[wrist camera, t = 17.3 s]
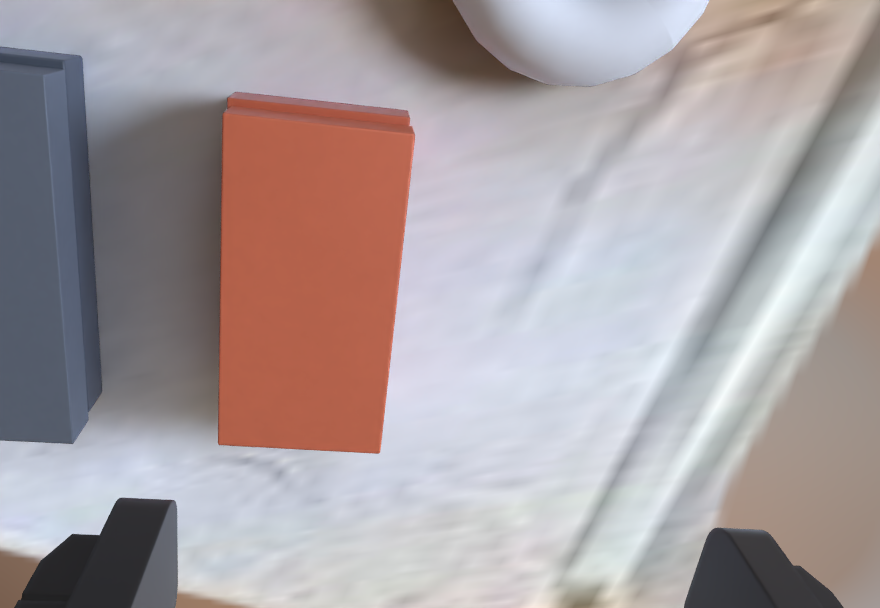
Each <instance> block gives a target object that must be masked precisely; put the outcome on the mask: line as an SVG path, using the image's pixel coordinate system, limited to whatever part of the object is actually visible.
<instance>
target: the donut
mask: <svg viewBox="0 0 880 608" xmlns="http://www.w3.org/2000/svg"><path fill="white" fill-rule="evenodd" d="M453 2H454V4H455V5H456V7H457V9H458V10H459V12H460V14H461V15H462V17H463V19H464V21H465V22H466V24H467V26H468V27H469V29H470V31H471V32H472V34H473V36H474V37H475V39H476V41H477V42H479V43H480V44H481V45H482V46H483V47H484V48H485V49H487V50H488V51H489V52H490V53H491V54H492V55H493V56H495V57H496V58H497V59H498V60H499V61H500V62H501V63H503V64H504V65H505V66H506V67H507V68H508V69H510V70H512V71H515V72H517V73H520V74H522V75H525V76H527V77H530V78H532V79H535V80H537V81H540V82H542V83H545V84H547V85H562V86H584V87H591V86H596V85H599V84H603V83H606V82H609V81H613V80H616V79H620V78H623V77H627V76H630V75H634V74H636V73H637V72H639V71H640V70H642V69H643V68H645V67H646V66H648V65H649V64H651V63H652V62H654V61H656V60H657V59H659V58H660V57H662V56H663V55H665V54H666V53H668V52H669V51H671V50H672V49H673V48H674V47H675V46H676V44H677V43H678V42H679V41H680V40H681V39H682V37H683V36H684V35H685V34H686V33H687V32H688V30H689V29H690V28H691V27H692V26H693V25H694V23H695V22H696V21H697V20H698V19H699V18H700V16H701V15H702V14H703V12H704V10H705V8H706V6H707V4H708V2H709V0H453Z"/></svg>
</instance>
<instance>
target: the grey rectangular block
mask: <svg viewBox="0 0 880 608" xmlns="http://www.w3.org/2000/svg"><path fill="white" fill-rule="evenodd" d="M101 393H102V381H101V365H100V348H99V331H98V314H97V298H96V281H95V264H94V247H93V231H92V214H91V197H90V180H89V163H88V147H87V130H86V113H85V96H84V80H83V63H82V57H81V56H78V55H69V54H60V53H52V52H43V51H34V50H25V49H16V48H7V47H0V440H5V441H25V442H45V443H66V444H73V443H74V442H75V440H76V438H77V437H78V435H79V434H80V432H81V431H82V429H83V428H84V426H85V425H86V423H87V421H88V420H89V419H88V412H89V411H90V409H91V408H92V406H93V405H94V403H95V402H96V400H97V399H98V397H99V396H100V394H101Z"/></svg>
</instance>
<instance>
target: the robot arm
mask: <svg viewBox="0 0 880 608" xmlns="http://www.w3.org/2000/svg"><path fill="white" fill-rule="evenodd" d="M177 587H178V560H177V506H176V502H175V501H174V500H159V499H138V498H119V499H118V500H117V501H116V503H115V505H114V507H113V509H112V511H111V513H110V515H109V517H108V519H107V521H106V523H105V525H104V527H103V529H102V532H101V534H100V535H80V534H72V535H71V536H70V537H68V538H67V539H66V540H65V541H64V542H62V543H61V544H60V545H59V546H58V547H57V548H55V549H54V550H53V551H52V552H51V553H49V554H48V555H47V556H46V557H45V558H44V559H42V560H41V561H40V563H39V565H38V567H37V568H36V570H35V572H34V574H33V575H32V577H31V579H30V581H29V582H28V584H27V586H26V588H25V590H24V591H23V593H22V599H21V600H18V602H17V604H16V606H15V607H14V608H175V606H176V599H177ZM684 608H843V606H842V605H841V604H840V602H839V601H838V600H837V598H836V597H835V596H834V594H833V593H832V592H831V591H830V590H829V589H828V588H826V587H825V586H824V585H822V584H821V583H820V582H819V581H818V580H816V579H815V578H814V577H813V576H812V575H810V574H809V573H808V572H807V571H805V570H804V569H803V568H802V567H801V566H793V565H792V564H791V562H790V561H789V559H788V558H787V557H786V555H785V554H784V552H783V551H782V550H781V548H780V547H779V546H778V544H777V543H776V541H775V540H774V539H773V537H772V536H771V535H770V534H769V533H768V532H766V531H764V530H753V529H731V528H715V529H713V530H712V531H711V532H710V533H709V535H708V536H707V539H706V542H705V544H704V547H703V550H702V553H701V556H700V559H699V562H698V565H697V568H696V571H695V574H694V577H693V580H692V583H691V586H690V589H689V592H688V595H687V598H686V601H685V605H684Z"/></svg>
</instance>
